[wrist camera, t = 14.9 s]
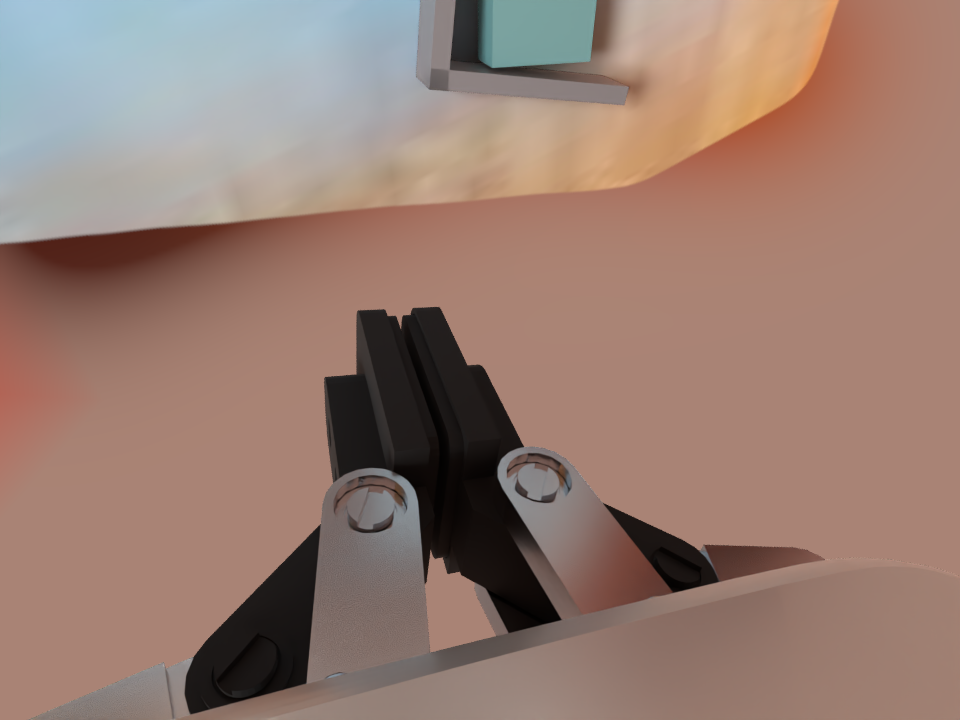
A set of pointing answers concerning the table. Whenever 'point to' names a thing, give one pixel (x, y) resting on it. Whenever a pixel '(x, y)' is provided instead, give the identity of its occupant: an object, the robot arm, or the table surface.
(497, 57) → the teal square block
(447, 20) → the box
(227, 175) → the table surface
